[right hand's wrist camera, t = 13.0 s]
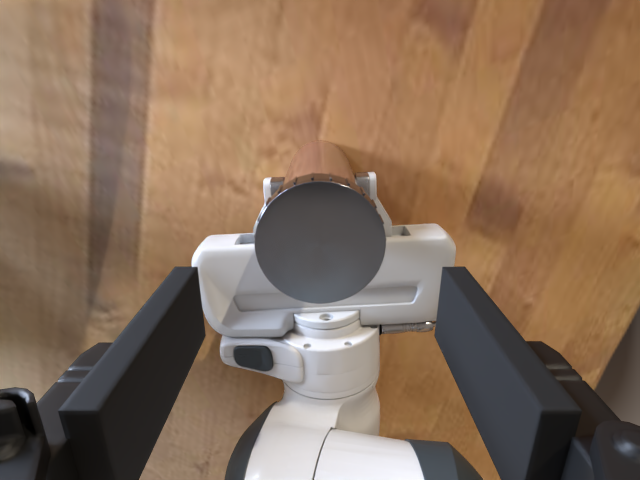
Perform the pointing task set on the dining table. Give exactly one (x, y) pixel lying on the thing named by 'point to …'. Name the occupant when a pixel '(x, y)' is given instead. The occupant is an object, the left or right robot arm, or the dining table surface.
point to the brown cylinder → (320, 161)
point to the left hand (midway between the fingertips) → (318, 175)
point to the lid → (320, 238)
